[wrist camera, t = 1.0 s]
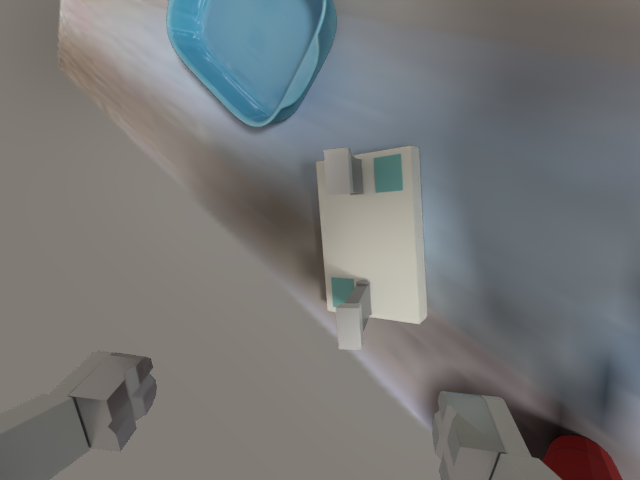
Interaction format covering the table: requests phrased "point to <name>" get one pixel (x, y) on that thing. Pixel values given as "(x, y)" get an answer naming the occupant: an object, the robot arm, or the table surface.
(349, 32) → the table surface
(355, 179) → the lever
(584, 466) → the plastic cup
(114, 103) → the table surface
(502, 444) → the robot arm
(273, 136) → the table surface
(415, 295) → the switch panel
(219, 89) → the casserole dish
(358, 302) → the lever
